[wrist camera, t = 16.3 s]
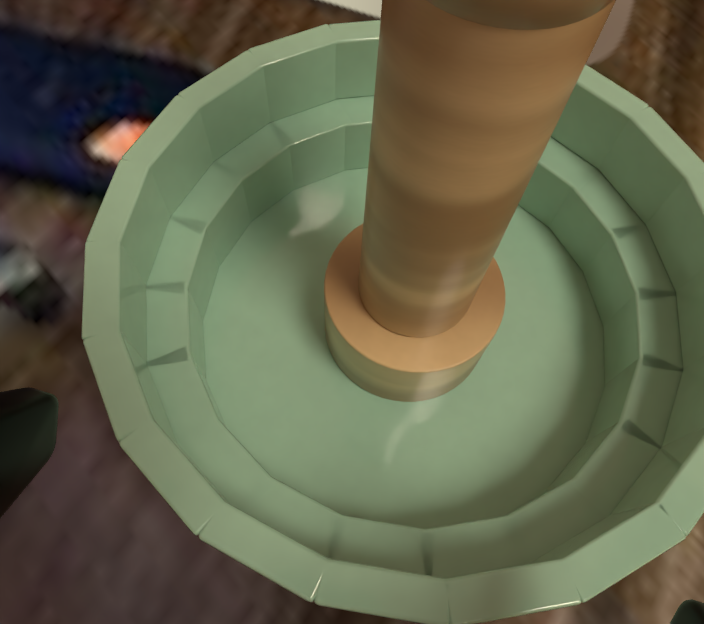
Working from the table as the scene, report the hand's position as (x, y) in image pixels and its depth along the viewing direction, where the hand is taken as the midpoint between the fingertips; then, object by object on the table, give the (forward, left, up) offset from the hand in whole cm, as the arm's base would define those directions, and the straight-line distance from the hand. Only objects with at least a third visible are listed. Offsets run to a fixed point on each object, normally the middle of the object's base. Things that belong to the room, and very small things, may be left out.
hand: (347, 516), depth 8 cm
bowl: (+6, +3, -8) cm, 11 cm away
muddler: (+6, +3, -8) cm, 10 cm away
